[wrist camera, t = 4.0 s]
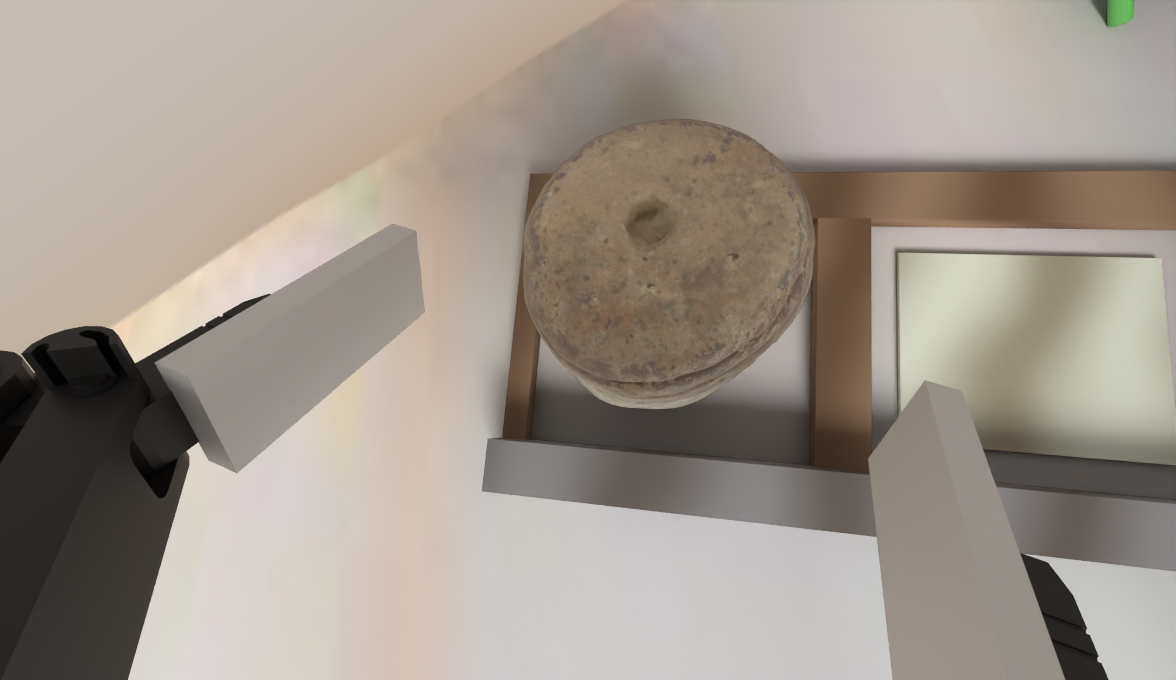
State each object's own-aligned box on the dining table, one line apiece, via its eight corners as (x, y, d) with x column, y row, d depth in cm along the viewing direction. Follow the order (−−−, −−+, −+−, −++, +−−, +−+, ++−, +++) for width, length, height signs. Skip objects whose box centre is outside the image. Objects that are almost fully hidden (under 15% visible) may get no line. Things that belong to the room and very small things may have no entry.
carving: (559, 346, 22) (433, 263, 11) (675, 225, 22) (676, 10, 11) (663, 449, 21) (649, 481, 9) (788, 319, 21) (930, 187, 9)
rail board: (1219, 180, 19) (1298, 145, 17) (1263, 568, 17) (1361, 592, 15) (535, 181, 24) (519, 154, 22) (503, 483, 22) (481, 491, 19)
